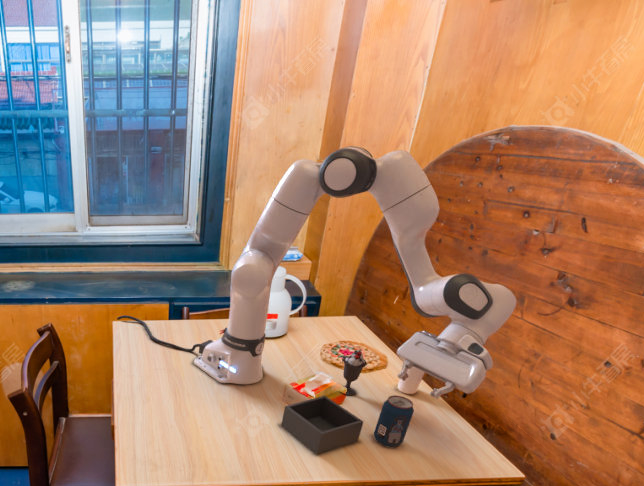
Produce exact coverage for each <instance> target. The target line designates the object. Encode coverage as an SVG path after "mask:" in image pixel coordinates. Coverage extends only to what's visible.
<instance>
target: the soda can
mask: <svg viewBox="0 0 644 486" xmlns="http://www.w3.org/2000/svg"><path fill="white" fill-rule="evenodd" d="M414 411H415V410H414V403H413V401H412V400H411V399H409V398H407V397H405V396H403V395H402V396H401V395H390V396H388V398H387V399H386V400H385V401H384V402H383V403H382V407H381V410H380V414H379V416H378V419H377V422H376V424H375V427H374V431H373V437H374V439H375V441H376V442H377V444H379V445H381V446H383V447H386V448H397V447H399V446H400V445H401V444H403V442H404V440H405V437H406V434H407V432H408V430H409V426H410V423H411V420H412V418H413V415H414Z"/></svg>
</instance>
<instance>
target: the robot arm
mask: <svg viewBox="0 0 644 486" xmlns="http://www.w3.org/2000/svg"><path fill="white" fill-rule="evenodd" d="M366 192H367V193H369V194H370V195H371V196H372V197H373V198H374V199H375V201H376V203H377V204H378V207H379V209H380V211H381V212H382V215H383V216H384V218H385V221H386V224H387V225H388V228H389V230H390V233H391V238H392V243H393V246H394V250H395V252H396V254H397V257H398V260H399V262H400V265H401V267H402V270H403V272H404V274H405V277H406V279H407V282H408V287H409V294H410V295H409V296H410V303H411V306H412V308H413V310H414V311H415V312H416V314H418V315H419V316H421V317H424V318H428V319H434V318H439V317H445V316H446V317H448V318H450V320H451V322H450V323H449V324H448V325H447V326H446V327H445V328H444V329H443V330H442V332H440V333H439V335H437V334H433V333H431V332H430V331H427V330H423V331H422V330H421V331H420V330H419V331H416V332H415V333H413V334H412V335H411V336H410V338H409V339H407V340H406V341H405V342H403V343H402V345H400V346H399V347H398V348H397V349H396V355H397V357H398V359H399V360H400V361H401V362H402V365H401V371H400V372H399V373H398V374H397V378H398V379H401V380H403V381H405V380H406V378H408V377H409V376H408V374H407V370H408V369H411V368H412V367H415V368H417V369H419V370H421V371H423V372H425V374H427V375H429V376H431V377H433V378H435V379H437V380H439V381H441V382H443V383H444V386H442V387H439V388H437V387H434V388H433V390H431V391H430V394H429V395H430V396H431V397H433V398H434V399H437V400H438V399H439V398H441V396H442V395H445V394H447V393H451V392H453V391H454V389H457V390H459V391H460V392H463V393H464V394H472V393H474V392H475V391H476V390H477V389H478V388H479V387H480V386H481V385H482V383H483V382H484V380H485V379H486V377H487V373H488V372H487V371H490V370H491V369H492V368H493V367H494V361H493V359H492V357H491V353H490V352H489V351H488V349H486V348H485V347H484V345H486V342H487V340H488V339H489V338H490V337H491V336H493V335H494V334H496V333H497V332H498V331H499V330H500V329H501V328H502V327H503V326H504V324H505V323H506V322H507V321H508V319H510V317H511V316H512V314H513V313H514V311H515V310H516V308H517V307H516V306H517V298H516V296H515V294H514V293H513V292H512V290H510V289H509V288H508V287H506V286H505V285H503V284H499V283H489V282H485V281H483V280H480V279H479V278H478V277H476V276H475V275H473V274H471V273H456V274H450V275H449V274H448V275H446V276H441V275H439V274H438V273H437V272H436V271H435V269H434V266H433V263H432V261H431V258H430V255H429V253H428V250H427V247H426V238H427V237H426V236H427V234H428V232H429V231H430V229H431V228H432V227H433V226H434V224H435V222H436V221H437V218H438V216H439V213H440V209H441V208H440V203H439V199H438V196H437V194H436V191H435V189H434V188H433V185H432V184H431V181H430V180H429V178H428V176H427V175H426V173H425V171H424V170H423V168H422V166H420V164H419V163H418V161H417V160H416V159H415V157H413V156H412V154H411V153H410V152H409V151H407V150H403V149H399V150H398V149H397V150H392V151H390V152H387V153H385V154H384V155H382V156H380V157H377V158H375V157H373V155H372V153H370V151H368V150H367V149H366V148H363V147H360V146H354V145H351V146H350V145H349V146H344V147H342V148H338V149H337V150H335V151H332V152H331V153H330V154H329V155H327V156H326V157H325V159H324V160H323V161H322V162H317V161H315V160H313V159H306V158H303V159H298V160H295V161H294V162H293V163H292V164H291V165H290V166H289V168H288V169H287V170H286V171H285V173H284V174H283V176H282V177H281V179H280V180H279V181H278V183H277V185H276V187H275V188H274V190H273V192H272V194H271V195H270V198H269V199H268V201H267V203H266V205H265V207H264V209H263V211H262V213H261V215H260V217H259V219H258V220H257V222H256V224H255V226H254V229H253V230H252V233H251V235H250V237H249V239H248V241H247V243H246V245H245V246H244V249H243V250H242V252H241V254H240V255H239V258H238V259H237V260H236V262H235V264H234V265H233V267H232V269H231V274H230V289H229V291H230V292H229V294H230V296H229V299H230V301H229V302H230V303H229V314H228V322H227V327H224V328H223V329H221V330H219V335H222V336H221V337H220V338H217V339H215V340H211V339H209V340H206V341H204V342H201V343H195V344H193V346H192V347H191V348H186V347H185V348H184V347H182V346H179V345H176V344H173V343H171V342H166V341H164V340H160V339H158V338H156V337H155V336H154V335H153V334H152V332H151V330H150V328H149V326H148V325H147V324H146V322H145V321H143V320H141V319H139V318H137V317H134V316H131V315H127V314H125V315H119V316H118V317H116V320H118V321H119V320H122V319H129V320H132V321H134V322H137V323H140V324H141V325H143V327H144V329H145V331H146V333H147V335H148V336H149V337H150V339H151V340H152V341H154V342H155V343H158V344H161V345H164V346H167V347H170V348H174V349H176V350H179V351H184V352H187V353H191V352H194V351H195V349H196V348H198V354H199V355H198V356H197V357H196V358H195V359H194V360H193V364H194V365H195V366H196V367H197V368H199V369H200V370H202V371H203V372H204V373H206V374H207V375H209V376H210V377H211V378H212V379H214V380H216V381H217V382H218V383H220V384H236V385H237V384H238V385H251V384H256V383H258V382H260V381H262V380H263V377H264V374H263V363H262V362H263V360H262V359H263V352H264V347H265V342H266V327H267V321H268V315H269V306H270V297H271V289H272V283H273V279H274V276H275V274H276V272H277V271H278V268H279V266H280V265H281V263H282V261H283V260H284V258H285V256H286V255H287V253H288V251H289V250H290V248H291V247H292V246H293V244H294V242H295V241H296V239H297V237H298V236H299V234H300V232H301V230H302V228H303V227H304V225H305V224H306V221H307V220H308V218H309V216H310V215H311V213H312V211H313V210H314V208H315V206H316V204H317V203H318V201H319V200H320V199H321V197H322V196H323V195H325V194H326V195H327V196H330V197H332V198H336V199H343V198H348V197H349V198H350V197H352V196H355V195H358V194H359V195H360V194H362V193H366Z"/></svg>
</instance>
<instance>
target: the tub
mask: <svg viewBox="0 0 644 486" xmlns="http://www.w3.org/2000/svg"><path fill="white" fill-rule="evenodd" d="M363 425H364V421H363V420H362V419H360V418H359V417H358V416H356V415H355V414H353V413H352V412H350V411H349V410H347V409H346V408H344V407H343V406H341V405H340V404H338V403H337V402H335V401H334V400H333V399H330V398H329V397H328V396H326V395H322V396H318V397H315V398H311V399H307V400H303V401H298V402H296V403H292V404H287V405H285V406H284V409H283V414H282V419H281V423H280V426H281V427H282V428H283V429H284V430H285V431H287V432H288V433H289V434H291V436H293V437H294V438H295V439H297V440H298V441H299V442H300V443H302V444H303V445H304V446H305V447H307V448H308V449H309V450H310V451H311V452H313V453H314V454H316V455H320V454H322V453H327V452H329V451H333V450H336V449H338V448H342V447H344V446H345V447H346V446H348V445H351V444H354V443H357V442H358V441H359V437H360V434H361V431H362V428H363Z"/></svg>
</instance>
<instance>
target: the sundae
mask: <svg viewBox="0 0 644 486" xmlns="http://www.w3.org/2000/svg"><path fill="white" fill-rule="evenodd" d="M341 360H342V362H343V374H342V375H343V379H344V380H345V381H346V383H345V386H344V387H346V388H347V392H346V394H345V395H344V396H354V395H356V390H355V389H353V388H351V385H352V382H355V381H357V380H358V379H359V377H360V375H361V372H362V370H363V369H364V368H365V367H366V366H368V363H367V361H366V360H365V358H364V355H363V354H362V348H360V349H359V350H358V351H357V350H354V351H353V352H352V353H351V354H350V355H346V356H344V357H342V359H341Z"/></svg>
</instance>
